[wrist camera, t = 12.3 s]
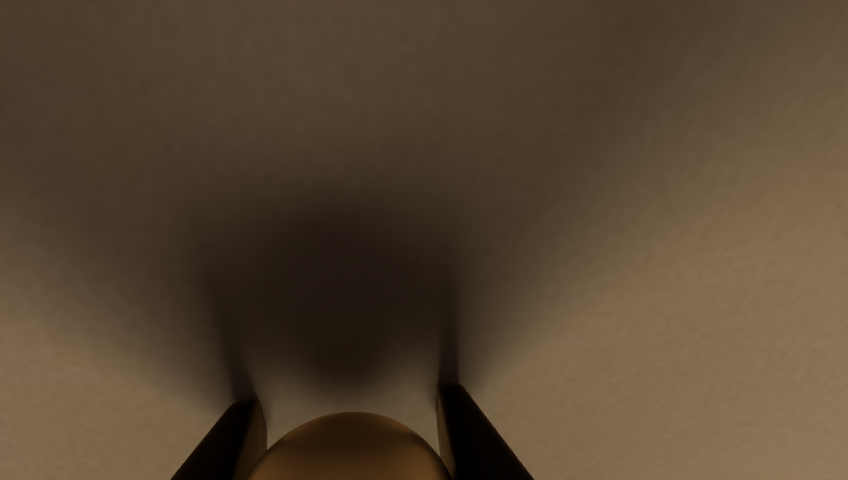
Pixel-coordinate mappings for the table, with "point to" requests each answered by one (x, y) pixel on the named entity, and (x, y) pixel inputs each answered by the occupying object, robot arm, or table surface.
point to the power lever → (350, 452)
